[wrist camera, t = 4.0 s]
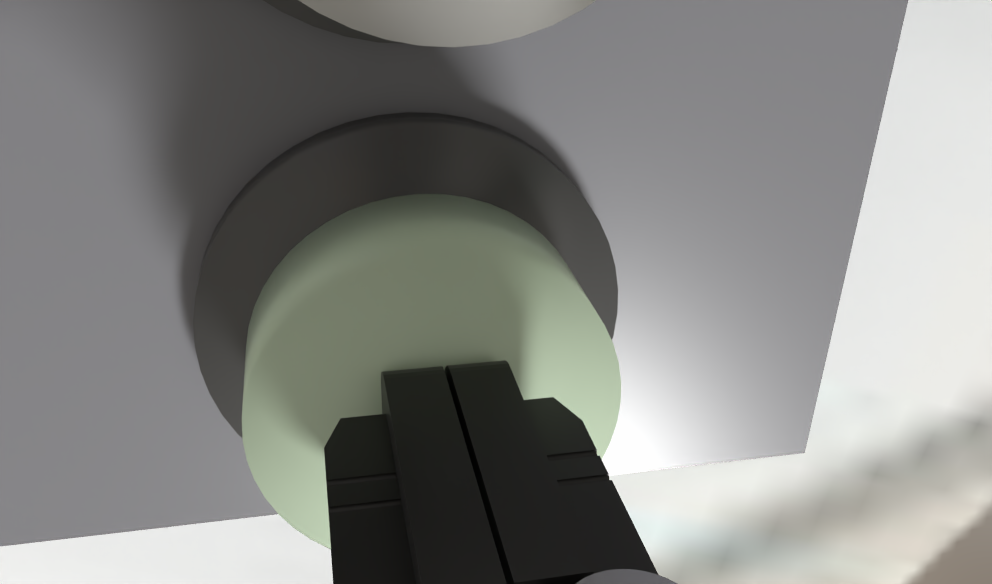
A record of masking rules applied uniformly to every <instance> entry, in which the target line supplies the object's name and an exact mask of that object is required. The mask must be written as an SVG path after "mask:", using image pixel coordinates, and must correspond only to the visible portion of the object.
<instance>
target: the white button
mask: <svg viewBox="0 0 992 584" xmlns="http://www.w3.org/2000/svg"><path fill="white" fill-rule="evenodd" d="M299 1H301V2H302V3H304V4H305V5H307V6H308V7H310V8H312V9H313V10H315V11H316V12H318V13H320V14H322V15H324V16H326V17H328V18H330V19H332V20H335V21H337V22H339V23H341V24H343V25H345V26H347V27H349V28H352V29H354V30H358V31H361V32H364V33H367V34H370V35H373V36H376V37H379V38H383V39H386V40H391V41H396V42H402V43H408V44H413V45H419V46H436V47H464V46H475V45H487V44H492V43H496V42H501V41H505V40H510V39H514V38H519V37H522V36H525V35H528V34H530V33H533V32H536V31H538V30H541V29H544V28H547V27H549V26H552V25H554V24H556V23H558V22H560V21H562V20H564V19H566V18H568V17H569V16H571V15H573V14H575V13H577V12H579V11H581V10H583V9H584V8H586V7H587V6H589V5H590V4H591V3H593V2H594V1H596V0H299Z"/></svg>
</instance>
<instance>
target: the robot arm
mask: <svg viewBox="0 0 992 584" xmlns="http://www.w3.org/2000/svg"><path fill="white" fill-rule="evenodd" d="M381 396H382V414H379V415H368V416H358V417H348V418H340V420H339V422H338V424H337V425H336V427H335V429H334V431H333V432H332V434H331V436H330V438H329V440H328V441H327V443H326V445H325V447H324V456H325V470H326V484H327V499H328V513H329V527H330V542H331V556H332V570H333V584H677V583H675V582H673V581H671V580H669V579H667V578H665V577H662V576H660V575H658V573H657V571H656V569H655V567H654V565H653V563H652V561H651V559H650V557H649V555H648V553H647V551H646V549H645V547H644V545H643V543H642V541H641V539H640V537H639V535H638V533H637V530H636V528H635V526H634V524H633V522H632V520H631V518H630V516H629V514H628V512H627V510H626V508H625V506H624V504H623V502H622V500H621V498H620V496H619V494H618V492H617V490H616V488H615V486H614V484H613V482H612V480H609V474H608V472H607V469H606V467H605V465H604V463H603V461H602V459H601V457H600V456H597V449H596V447H595V445H594V443H593V441H592V439H591V437H590V435H589V433H588V431H587V429H586V427H585V425H584V423H583V421H582V420H581V419H580V418H579V417H577V416H576V415H575V414H574V413H572V412H571V411H570V410H569V409H568V408H566V407H565V406H564V405H563V404H561V403H560V402H559V401H558V400H556V399H555V398H554V397H549V398H538V399H528V400H524V399H523V397H522V394H521V392H520V390H519V387H518V385H517V382H516V380H515V377H514V375H513V373H512V370H511V368H510V365H509V363H508V362H507V361H506V360H503V361H492V362H481V363H470V364H458V365H447V366H446V367H445V371H444V369H443V367H442V366H439V367H428V368H416V369H405V370H394V371H383V372H381Z"/></svg>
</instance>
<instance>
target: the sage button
mask: <svg viewBox="0 0 992 584" xmlns="http://www.w3.org/2000/svg"><path fill="white" fill-rule="evenodd" d="M503 360H506V361H507V362H508V363H509V365H510V368H511V370H512V373H513V375H514V377H515V380H516V382H517V385H518V387H519V390H520V392H521V394H522V397H523V399H524V400H528V399H538V398H549V397H554V398H555V399H556V400H558V401H559V402H560V403H561V404H563V405H564V406H565V407H566V408H568V409H569V410H570V411H571V412H572V413H574V414H575V415H576V416H577V417H579V418H580V419H581V420H582V421H583V423H584V425H585V427H586V429H587V431H588V433H589V435H590V437H591V439H592V441H593V443H594V445H595V447H596V449H597V456H600V457H601V459H602V458H603V456H604V454H605V452H606V450H607V448H608V446H609V444H610V442H611V439H612V436H613V433H614V430H615V427H616V424H617V420H618V414H619V409H620V403H621V377H620V368H619V362H618V358H617V355H616V351H615V348H614V344H613V342H612V340H611V338H610V336H609V333H608V331H607V329H606V327H605V325H604V323H603V322H602V320H601V319H600V317H599V315H598V314H597V312H596V310H595V309H594V307H593V306H592V304H591V302H590V301H589V299H588V298H587V296H586V294H585V293H584V291H583V289H582V288H581V286H580V285H579V283H578V281H577V280H576V278H575V277H574V275H573V273H572V272H571V270H570V268H569V267H568V265H567V264H566V262H565V261H564V259H563V258H562V256H561V255H560V254H559V252H558V251H557V249H556V248H555V247H554V246H553V245H552V244H551V243H550V242H549V241H548V240H547V239H546V238H545V237H544V235H542V234H541V233H540V232H539V231H537V230H536V229H535V228H534V227H532V226H531V225H530V224H529V223H527V222H526V221H524V220H522V219H520V218H519V217H517V216H515V215H514V214H512V213H510V212H508V211H506V210H504V209H501V208H499V207H496V206H494V205H492V204H489V203H486V202H482V201H478V200H475V199H471V198H467V197H461V196H453V195H446V194H414V195H405V196H397V197H392V198H387V199H383V200H379V201H375V202H371V203H368V204H366V205H363V206H360V207H358V208H355V209H352V210H349V211H347V212H345V213H343V214H341V215H340V216H338V217H336V218H334V219H332V220H330V221H328V222H326V223H325V224H323V225H322V226H320V227H319V228H318V229H316V230H315V231H313V232H312V233H310V234H309V235H307V236H306V237H305V238H304V239H303V240H302V241H301V242H300V243H298V244H297V245H296V246H295V247H294V248H293V249H292V250H291V251H290V252H289V253H288V254H287V255H286V256H285V257H284V259H283V260H282V261H281V262H280V263H279V264H278V266H277V267H276V268H275V269H274V271H273V272H272V274H271V276H270V277H269V279H268V280H267V282H266V283H265V285H264V287H263V288H262V291H261V293H260V295H259V297H258V299H257V302H256V304H255V306H254V309H253V313H252V316H251V320H250V323H249V327H248V335H247V343H246V356H245V373H244V390H243V406H242V438H243V445H244V449H245V454H246V459H247V462H248V465H249V467H250V470H251V473H252V475H253V478H254V480H255V482H256V484H257V485H258V487H259V489H260V490H261V492H262V494H263V495H264V497H265V498H266V500H267V501H268V502H269V503H270V505H271V506H272V507H273V508H274V509H275V511H276V512H277V513H278V514H279V515H280V516H281V517H282V518H283V519H285V520H286V521H287V522H288V523H289V524H290V525H291V526H292V527H293V528H295V529H296V530H298V531H299V532H301V533H302V534H304V535H305V536H307V537H308V538H310V539H311V540H313V541H315V542H317V543H319V544H321V545H323V546H325V547H327V548H329V549H331V542H330V527H329V513H328V499H327V484H326V470H325V456H324V447H325V445H326V443H327V441H328V440H329V438H330V436H331V434H332V432H333V431H334V429H335V427H336V425H337V424H338V422H339V420H340V418H348V417H358V416H368V415H379V414H382V396H381V372H383V371H394V370H405V369H416V368H428V367H439V366H442V367H443V369H444V371H445V367H446V366H447V365H458V364H470V363H481V362H492V361H503Z"/></svg>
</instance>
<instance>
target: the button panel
mask: <svg viewBox="0 0 992 584" xmlns="http://www.w3.org/2000/svg"><path fill="white" fill-rule="evenodd" d="M907 3H908V0H596V1H594V2H593V3H591V4H590V5H589V6H587V7H586V8H584V9H583V10H581V11H579V12H577V13H575V14H573V15H571V16H569V17H568V18H566V19H564V20H562V21H560V22H558V23H556V24H554V25H552V26H549V27H547V28H544V29H541V30H538V31H536V32H533V33H530V34H528V35H525V36H522V37H519V38H514V39H510V40H505V41H501V42H496V43H492V44H487V45H475V46H464V47H436V46H419V45H413V44H408V43H402V42H396V41H391V40H386V39H383V38H379V37H376V36H373V35H370V34H367V33H364V32H361V31H358V30H354V29H352V28H349V27H347V26H345V25H343V24H341V23H339V22H337V21H335V20H332V19H330V18H328V17H326V16H324V15H322V14H320V13H318V12H316V11H315V10H313V9H312V8H310V7H308V6H307V5H305V4H304V3H302V2H301V1H299V0H0V546H7V545H16V544H24V543H33V542H42V541H50V540H59V539H68V538H76V537H85V536H93V535H102V534H111V533H119V532H128V531H136V530H145V529H154V528H162V527H171V526H179V525H188V524H197V523H205V522H214V521H222V520H231V519H240V518H248V517H257V516H266V515H274V514H278V513H277V512H276V511H275V509H274V508H273V507H272V506H271V505H270V503H269V502H268V501H267V500H266V498H265V497H264V495H263V494H262V492H261V490H260V489H259V487H258V485H257V484H256V482H255V480H254V478H253V475H252V473H251V470H250V467H249V465H248V462H247V459H246V454H245V449H244V445H243V438H242V406H243V390H244V373H245V356H246V343H247V335H248V327H249V323H250V320H251V316H252V313H253V309H254V306H255V304H256V302H257V299H258V297H259V295H260V293H261V291H262V288H263V287H264V285H265V283H266V282H267V280H268V279H269V277H270V276H271V274H272V272H273V271H274V269H275V268H276V267H277V266H278V264H279V263H280V262H281V261H282V260H283V259H284V257H285V256H286V255H287V254H288V253H289V252H290V251H291V250H292V249H293V248H294V247H295V246H296V245H297V244H298V243H300V242H301V241H302V240H303V239H304V238H305V237H306V236H307V235H309V234H310V233H312V232H313V231H315V230H316V229H318V228H319V227H320V226H322V225H323V224H325V223H326V222H328V221H330V220H332V219H334V218H336V217H338V216H340V215H341V214H343V213H345V212H347V211H349V210H352V209H355V208H358V207H360V206H363V205H366V204H368V203H371V202H375V201H379V200H383V199H387V198H392V197H397V196H405V195H414V194H446V195H453V196H461V197H467V198H471V199H475V200H478V201H482V202H486V203H489V204H492V205H494V206H496V207H499V208H501V209H504V210H506V211H508V212H510V213H512V214H514V215H515V216H517V217H519V218H520V219H522V220H524V221H526V222H527V223H529V224H530V225H531V226H532V227H534V228H535V229H536V230H537V231H539V232H540V233H541V234H542V235H544V237H545V238H546V239H547V240H548V241H549V242H550V243H551V244H552V245H553V246H554V247H555V248H556V249H557V251H558V252H559V254H560V255H561V256H562V258H563V259H564V261H565V262H566V264H567V265H568V267H569V268H570V270H571V272H572V273H573V275H574V277H575V278H576V280H577V281H578V283H579V285H580V286H581V288H582V289H583V291H584V293H585V294H586V296H587V298H588V299H589V301H590V302H591V304H592V306H593V307H594V309H595V310H596V312H597V314H598V315H599V317H600V319H601V320H602V322H603V323H604V325H605V327H606V329H607V331H608V333H609V336H610V338H611V340H612V342H613V344H614V348H615V351H616V355H617V358H618V362H619V368H620V377H621V403H620V409H619V414H618V420H617V424H616V427H615V430H614V433H613V436H612V439H611V442H610V444H609V446H608V448H607V450H606V452H605V454H604V456H603V458H602V461H603V463H604V465H605V467H606V469H607V472H608V474H609V476H610V475H618V474H627V473H636V472H644V471H653V470H662V469H670V468H679V467H687V466H696V465H705V464H713V463H722V462H730V461H739V460H748V459H756V458H765V457H773V456H782V455H791V454H799V453H805V449H806V444H807V440H808V436H809V431H810V427H811V422H812V418H813V414H814V409H815V405H816V401H817V396H818V392H819V388H820V383H821V379H822V374H823V370H824V366H825V361H826V357H827V353H828V348H829V344H830V339H831V335H832V331H833V326H834V322H835V318H836V313H837V309H838V305H839V300H840V296H841V291H842V287H843V283H844V278H845V274H846V270H847V265H848V261H849V256H850V252H851V248H852V243H853V239H854V235H855V230H856V226H857V222H858V217H859V213H860V208H861V204H862V200H863V195H864V191H865V187H866V182H867V178H868V174H869V169H870V165H871V160H872V156H873V152H874V147H875V143H876V139H877V134H878V130H879V125H880V121H881V117H882V112H883V108H884V104H885V99H886V95H887V91H888V86H889V82H890V77H891V73H892V69H893V64H894V60H895V56H896V51H897V47H898V43H899V38H900V34H901V29H902V25H903V21H904V16H905V12H906V8H907Z"/></svg>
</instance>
